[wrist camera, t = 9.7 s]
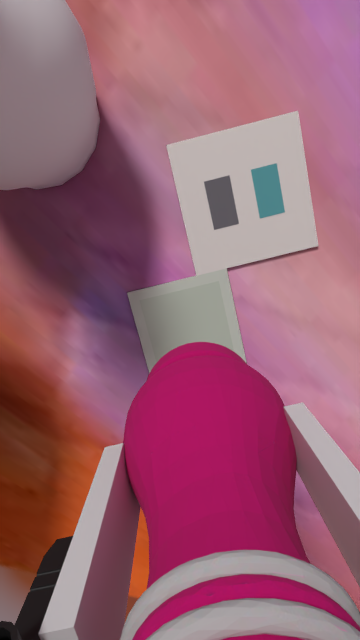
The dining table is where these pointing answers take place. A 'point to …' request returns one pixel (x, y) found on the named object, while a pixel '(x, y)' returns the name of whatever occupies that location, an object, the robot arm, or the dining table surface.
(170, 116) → the dining table surface
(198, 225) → the tile
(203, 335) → the coaster
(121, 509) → the robot arm
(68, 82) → the vase
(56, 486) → the dining table surface
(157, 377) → the pepper mill
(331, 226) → the dining table surface
